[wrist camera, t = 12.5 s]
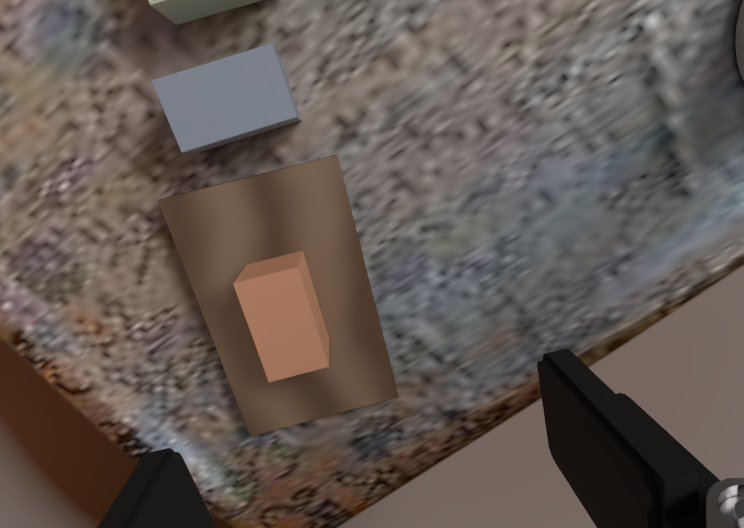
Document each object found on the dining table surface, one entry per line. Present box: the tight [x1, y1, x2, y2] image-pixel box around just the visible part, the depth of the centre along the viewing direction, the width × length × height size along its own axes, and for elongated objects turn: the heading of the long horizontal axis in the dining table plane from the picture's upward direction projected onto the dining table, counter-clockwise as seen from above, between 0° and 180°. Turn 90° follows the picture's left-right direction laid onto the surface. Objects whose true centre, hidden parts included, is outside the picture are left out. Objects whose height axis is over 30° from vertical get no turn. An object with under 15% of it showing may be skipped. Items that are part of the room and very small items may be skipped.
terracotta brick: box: [233, 251, 329, 382], centre depth 27 cm, size 7×4×4 cm, turn 14°
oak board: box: [158, 155, 399, 436], centre depth 30 cm, size 12×19×2 cm, turn 14°
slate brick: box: [152, 43, 301, 152], centre depth 25 cm, size 7×4×4 cm, turn 107°
